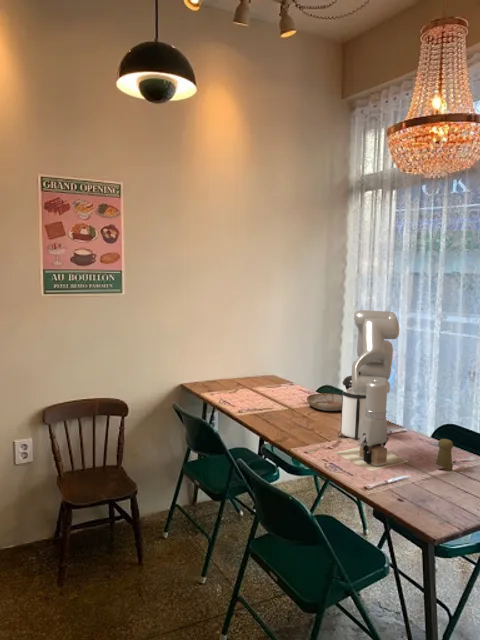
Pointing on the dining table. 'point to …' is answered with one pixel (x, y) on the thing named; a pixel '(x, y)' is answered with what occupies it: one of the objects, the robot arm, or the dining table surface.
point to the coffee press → (351, 410)
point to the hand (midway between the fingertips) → (372, 460)
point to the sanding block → (376, 455)
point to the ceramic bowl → (326, 401)
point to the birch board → (354, 457)
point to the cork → (445, 455)
